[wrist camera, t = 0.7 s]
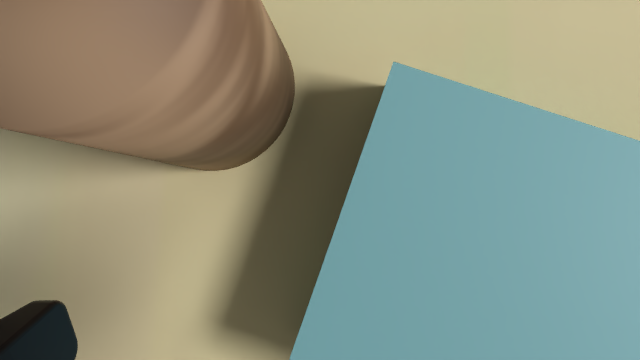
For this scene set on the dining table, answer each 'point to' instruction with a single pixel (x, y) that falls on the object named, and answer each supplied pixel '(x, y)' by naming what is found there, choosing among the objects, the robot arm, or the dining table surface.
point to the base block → (480, 235)
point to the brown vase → (147, 77)
